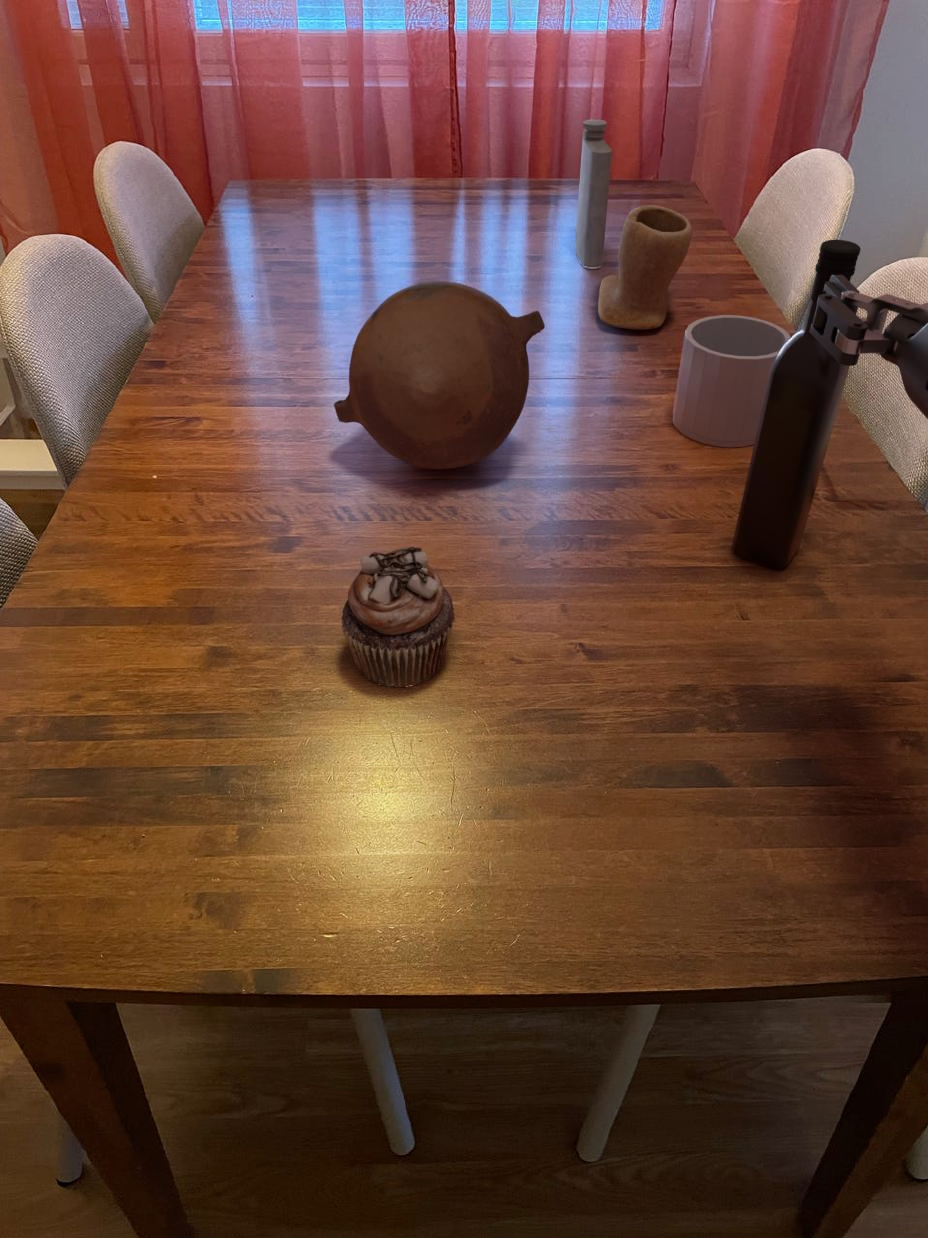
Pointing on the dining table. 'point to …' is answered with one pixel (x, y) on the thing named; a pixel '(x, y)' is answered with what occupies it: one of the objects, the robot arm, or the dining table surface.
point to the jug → (439, 374)
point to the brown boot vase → (644, 268)
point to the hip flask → (593, 194)
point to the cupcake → (398, 618)
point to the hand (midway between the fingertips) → (891, 288)
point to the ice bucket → (725, 378)
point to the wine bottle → (793, 431)
